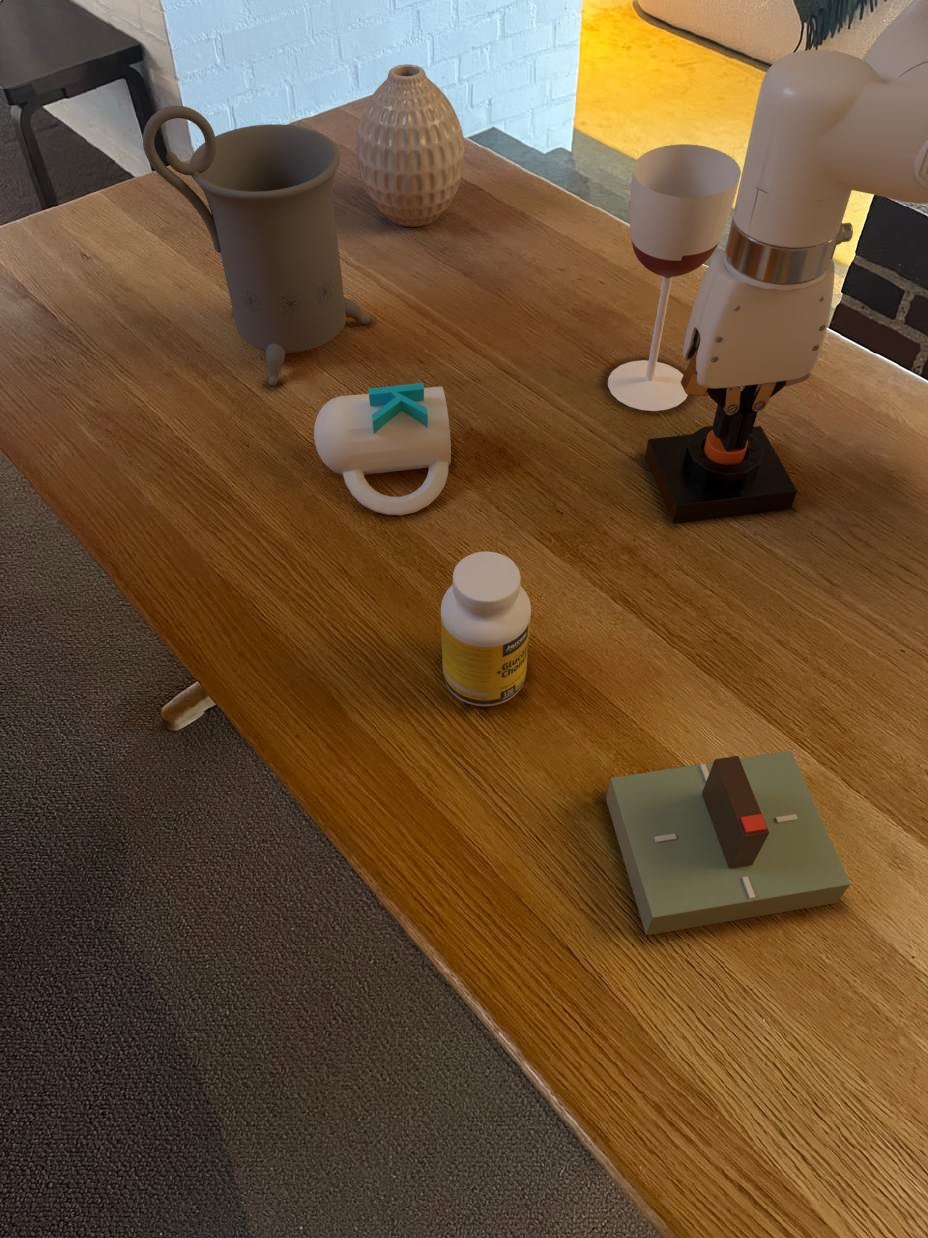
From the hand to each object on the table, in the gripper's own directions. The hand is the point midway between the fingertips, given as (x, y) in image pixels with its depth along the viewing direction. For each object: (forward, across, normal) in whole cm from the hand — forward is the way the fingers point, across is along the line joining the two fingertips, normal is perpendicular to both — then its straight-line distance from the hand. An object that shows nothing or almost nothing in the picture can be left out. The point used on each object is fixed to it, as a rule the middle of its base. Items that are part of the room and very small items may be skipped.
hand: (729, 439), depth 84 cm
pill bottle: (+5, +25, +18) cm, 31 cm away
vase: (+5, +21, -53) cm, 57 cm away
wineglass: (+5, +2, -15) cm, 16 cm away
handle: (+2, +12, +35) cm, 37 cm away
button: (+2, 0, 0) cm, 2 cm away
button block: (+5, 0, 0) cm, 5 cm away
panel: (+5, +12, +35) cm, 37 cm away
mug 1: (+5, +38, -29) cm, 48 cm away
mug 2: (+5, +30, -6) cm, 31 cm away
